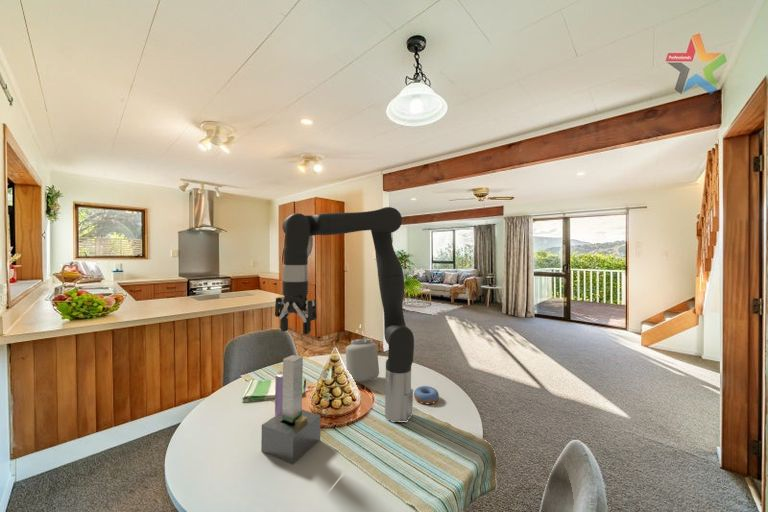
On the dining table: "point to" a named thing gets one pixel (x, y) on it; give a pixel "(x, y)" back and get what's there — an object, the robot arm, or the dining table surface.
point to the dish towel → (262, 390)
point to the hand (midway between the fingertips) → (295, 332)
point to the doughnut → (426, 394)
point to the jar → (362, 360)
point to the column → (292, 388)
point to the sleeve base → (290, 436)
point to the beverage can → (278, 392)
